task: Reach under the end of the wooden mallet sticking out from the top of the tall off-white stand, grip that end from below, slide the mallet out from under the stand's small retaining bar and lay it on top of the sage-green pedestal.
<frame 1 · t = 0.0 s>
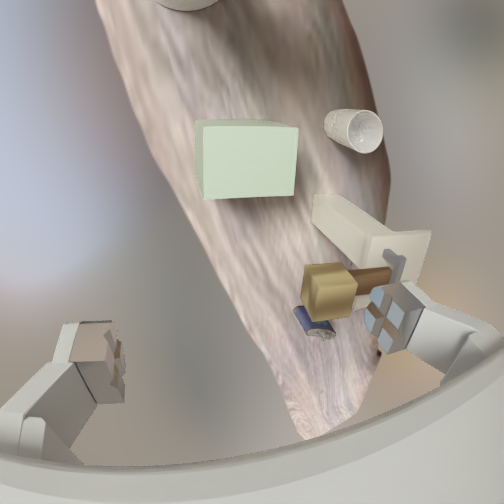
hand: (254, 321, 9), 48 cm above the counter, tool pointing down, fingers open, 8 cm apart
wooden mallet: (369, 275, 40), point 26 cm above the counter, touching tall stand
white cup: (337, 124, 56), on the counter
sage pedestal: (230, 146, 53), on the counter
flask: (308, 310, 77), on the counter
tall stand: (320, 208, 63), on the counter
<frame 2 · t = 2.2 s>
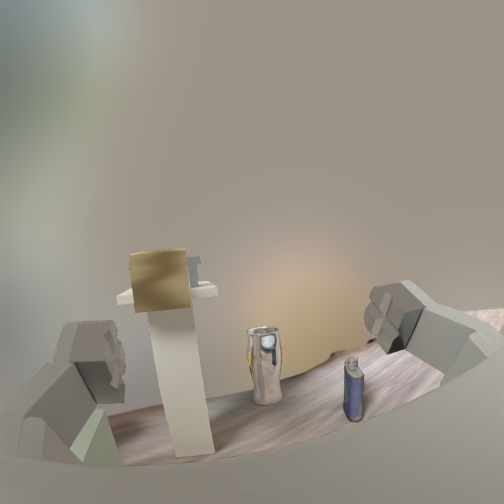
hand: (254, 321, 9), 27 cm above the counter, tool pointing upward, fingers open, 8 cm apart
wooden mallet: (166, 290, 35), point 26 cm above the counter, touching tall stand
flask: (351, 411, 47), on the counter
beer glass: (268, 399, 57), on the counter
tall stand: (194, 448, 40), on the counter
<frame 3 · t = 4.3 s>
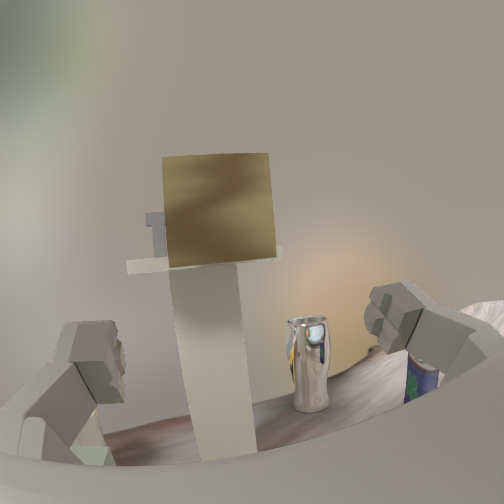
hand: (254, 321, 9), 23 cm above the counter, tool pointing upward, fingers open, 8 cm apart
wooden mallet: (204, 252, 24), point 26 cm above the counter, touching tall stand
white cup: (90, 477, 26), on the counter
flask: (416, 412, 36), on the counter
beer glass: (311, 405, 45), on the counter
tall stand: (232, 477, 28), on the counter
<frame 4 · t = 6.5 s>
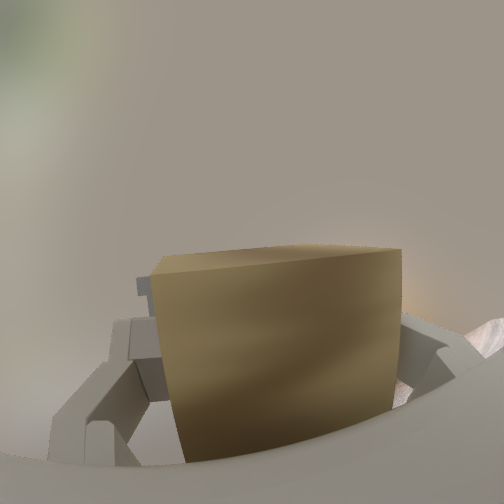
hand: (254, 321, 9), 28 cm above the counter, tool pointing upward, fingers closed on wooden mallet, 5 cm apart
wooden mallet: (227, 341, 15), point 26 cm above the counter, touching gripper, tall stand
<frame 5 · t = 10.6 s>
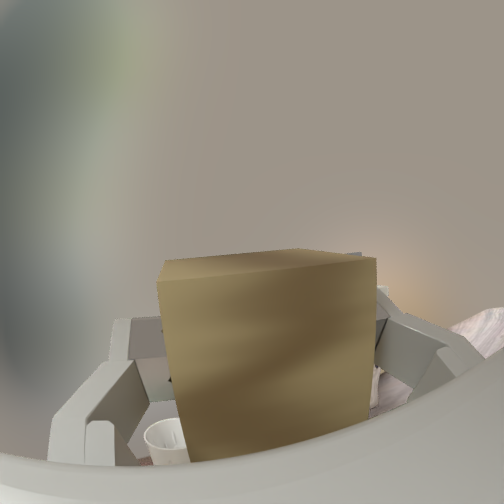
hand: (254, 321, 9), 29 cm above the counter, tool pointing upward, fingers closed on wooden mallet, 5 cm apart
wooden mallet: (224, 338, 16), point 26 cm above the counter, tilted 5°, touching gripper
white cup: (189, 487, 31), on the counter
beer glass: (363, 403, 51), on the counter
when the fingers open (19 cm above the counter, at t = 13.4 s): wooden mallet drops 2 cm, resting on sage pedestal.
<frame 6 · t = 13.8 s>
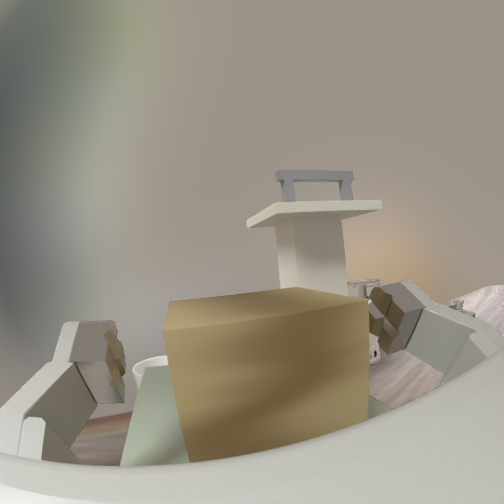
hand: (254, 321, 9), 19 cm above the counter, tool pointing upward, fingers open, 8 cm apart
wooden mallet: (228, 371, 16), point 15 cm above the counter, touching sage pedestal
white cup: (180, 437, 32), on the counter
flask: (456, 359, 42), on the counter
beer glass: (365, 361, 52), on the counter
tall stand: (322, 416, 34), on the counter
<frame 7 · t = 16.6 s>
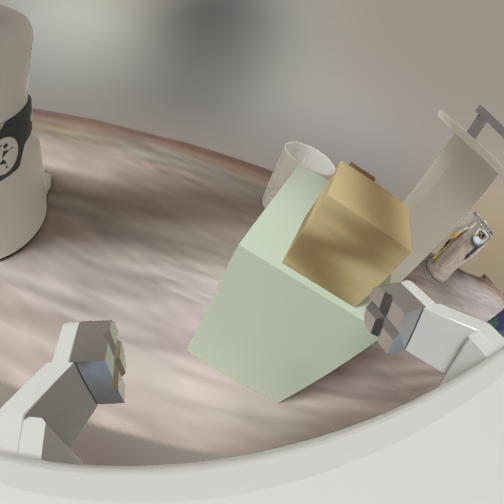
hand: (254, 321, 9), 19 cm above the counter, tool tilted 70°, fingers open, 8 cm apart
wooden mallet: (344, 205, 24), point 15 cm above the counter, touching sage pedestal
white cup: (280, 209, 47), on the counter
sage pedestal: (258, 329, 31), on the counter
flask: (475, 344, 45), on the counter
beer glass: (435, 272, 55), on the counter
tall stand: (374, 275, 45), on the counter
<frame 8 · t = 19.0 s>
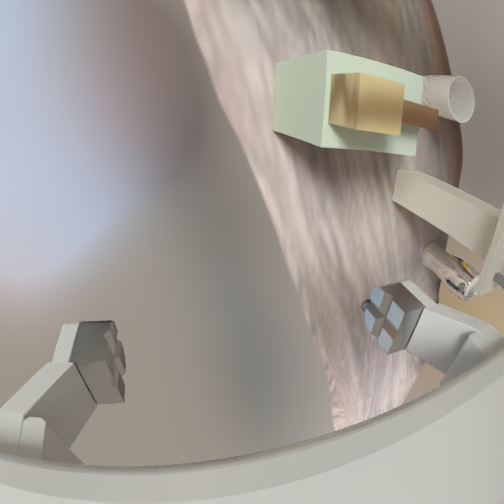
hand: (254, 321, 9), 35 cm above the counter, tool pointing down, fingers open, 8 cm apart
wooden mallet: (405, 112, 28), point 15 cm above the counter, touching sage pedestal
white cup: (420, 93, 43), on the counter
sage pedestal: (316, 100, 40), on the counter
beer glass: (428, 253, 62), on the counter
tall stand: (402, 184, 51), on the counter
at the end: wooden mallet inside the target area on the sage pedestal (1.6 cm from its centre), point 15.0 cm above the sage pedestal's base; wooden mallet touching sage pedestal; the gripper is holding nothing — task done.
